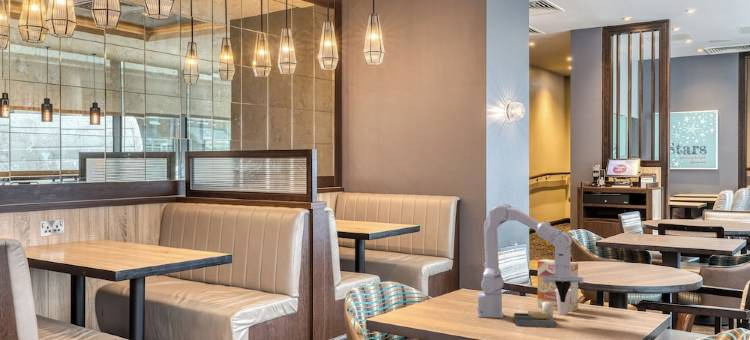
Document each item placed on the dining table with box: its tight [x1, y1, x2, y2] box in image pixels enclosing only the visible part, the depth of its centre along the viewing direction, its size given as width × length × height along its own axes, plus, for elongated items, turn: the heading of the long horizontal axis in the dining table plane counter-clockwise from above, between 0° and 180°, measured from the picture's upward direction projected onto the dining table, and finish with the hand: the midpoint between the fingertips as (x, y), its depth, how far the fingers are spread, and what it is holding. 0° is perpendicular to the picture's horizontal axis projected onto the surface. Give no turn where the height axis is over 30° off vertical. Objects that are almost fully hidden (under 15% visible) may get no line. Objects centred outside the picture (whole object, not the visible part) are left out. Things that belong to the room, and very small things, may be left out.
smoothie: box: [555, 289, 572, 316], centre depth 259 cm, size 6×6×14 cm
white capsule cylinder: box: [541, 302, 554, 319], centre depth 252 cm, size 4×4×6 cm
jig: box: [513, 312, 555, 328], centre depth 244 cm, size 14×10×3 cm
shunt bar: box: [527, 310, 551, 319], centre depth 244 cm, size 8×3×2 cm, turn 81°
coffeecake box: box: [537, 258, 579, 313], centre depth 269 cm, size 15×7×20 cm, turn 49°
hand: (562, 301), depth 243 cm, fingers closed
